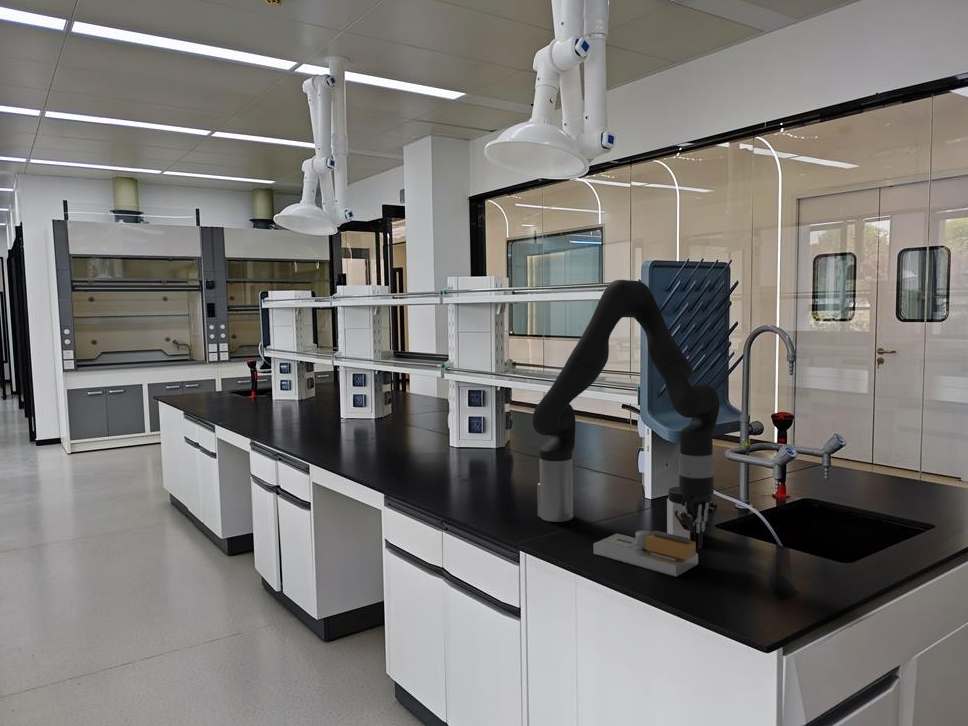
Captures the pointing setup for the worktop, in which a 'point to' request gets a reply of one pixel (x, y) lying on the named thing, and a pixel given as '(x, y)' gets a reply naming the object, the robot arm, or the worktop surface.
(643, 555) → the plate
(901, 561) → the worktop surface
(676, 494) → the jar
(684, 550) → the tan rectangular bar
